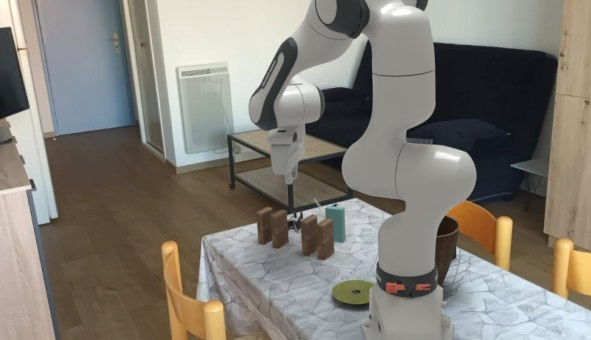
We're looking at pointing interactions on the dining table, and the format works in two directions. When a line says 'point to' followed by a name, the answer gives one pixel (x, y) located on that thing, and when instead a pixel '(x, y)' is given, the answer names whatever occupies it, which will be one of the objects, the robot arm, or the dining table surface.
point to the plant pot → (445, 246)
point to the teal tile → (337, 222)
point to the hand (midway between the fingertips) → (291, 181)
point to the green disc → (353, 291)
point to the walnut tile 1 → (264, 225)
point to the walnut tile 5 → (325, 239)
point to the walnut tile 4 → (309, 235)
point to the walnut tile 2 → (279, 228)
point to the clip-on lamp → (296, 221)
